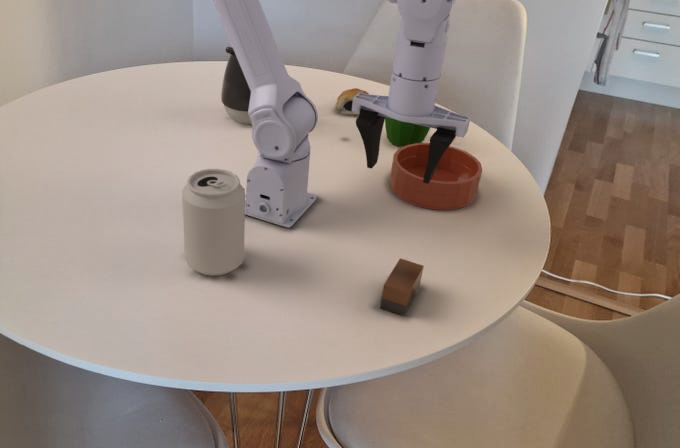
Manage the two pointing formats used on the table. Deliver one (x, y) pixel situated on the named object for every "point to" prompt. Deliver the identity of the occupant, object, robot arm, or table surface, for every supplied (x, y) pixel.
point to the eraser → (401, 287)
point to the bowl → (435, 177)
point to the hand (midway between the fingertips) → (399, 172)
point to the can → (214, 221)
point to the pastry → (347, 101)
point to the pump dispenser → (235, 90)
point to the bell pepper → (404, 132)
